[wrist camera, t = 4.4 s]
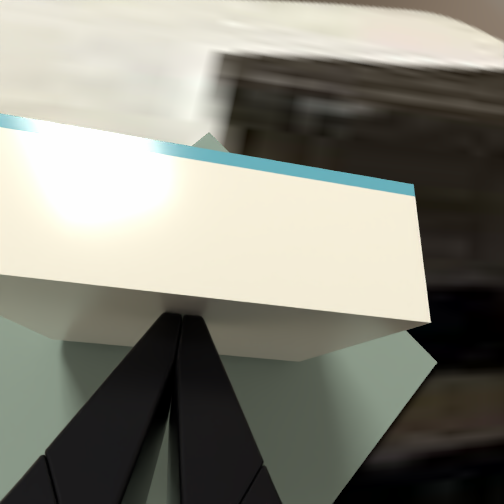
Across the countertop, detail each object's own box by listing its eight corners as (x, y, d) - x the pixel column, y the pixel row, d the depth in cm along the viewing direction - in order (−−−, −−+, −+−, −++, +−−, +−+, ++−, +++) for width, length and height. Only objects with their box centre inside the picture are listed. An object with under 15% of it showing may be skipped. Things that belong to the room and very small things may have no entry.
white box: (299, 361, 14) (430, 322, 7) (52, 339, 13) (-123, 260, 5) (300, 287, 15) (413, 184, 8) (74, 259, 14) (-44, 106, 6)
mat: (431, 361, 16) (437, 362, 15) (128, 765, 11) (125, 781, 11) (208, 136, 16) (208, 132, 16) (-170, 444, 12) (-182, 448, 11)
